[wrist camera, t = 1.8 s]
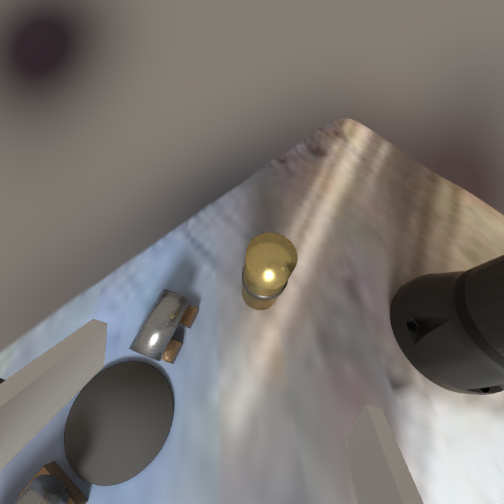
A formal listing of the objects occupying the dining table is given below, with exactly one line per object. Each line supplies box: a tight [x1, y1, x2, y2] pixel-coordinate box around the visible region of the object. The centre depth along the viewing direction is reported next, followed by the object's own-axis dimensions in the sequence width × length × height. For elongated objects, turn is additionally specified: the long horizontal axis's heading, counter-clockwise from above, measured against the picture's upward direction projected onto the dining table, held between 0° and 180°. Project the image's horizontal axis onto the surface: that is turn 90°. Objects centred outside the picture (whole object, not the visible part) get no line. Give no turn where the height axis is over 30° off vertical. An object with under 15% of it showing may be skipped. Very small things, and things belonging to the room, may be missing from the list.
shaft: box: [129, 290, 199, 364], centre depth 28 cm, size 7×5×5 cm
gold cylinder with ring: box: [242, 233, 298, 310], centre depth 28 cm, size 5×5×12 cm
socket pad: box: [64, 361, 174, 486], centre depth 26 cm, size 11×11×1 cm
